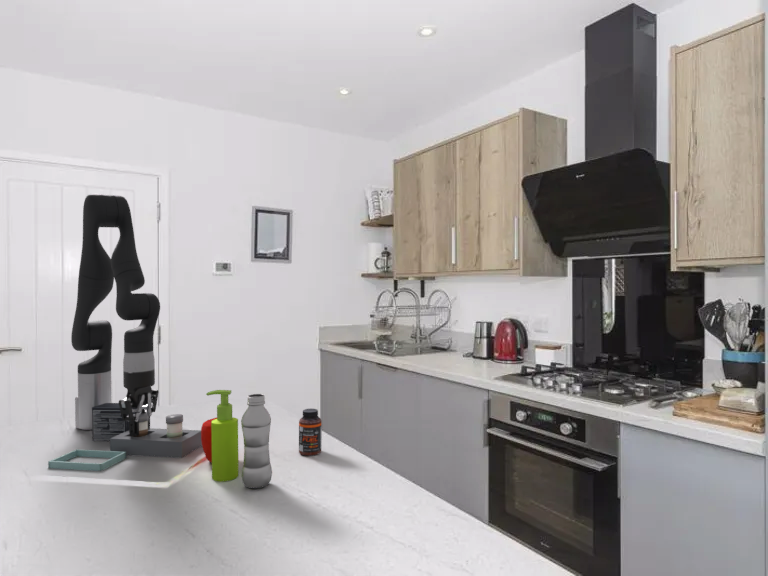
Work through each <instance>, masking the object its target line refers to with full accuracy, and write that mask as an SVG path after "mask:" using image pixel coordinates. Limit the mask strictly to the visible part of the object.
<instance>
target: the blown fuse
mask: <svg viewBox="0 0 768 576" xmlns="http://www.w3.org/2000/svg"><path fill="white" fill-rule="evenodd" d="M133 415H134V416H135V414H133ZM148 420H149V414H148V413H141V412H140V413H139V419H138V421H139V435H137V436H132V437H144V436H146V435H148Z"/></svg>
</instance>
